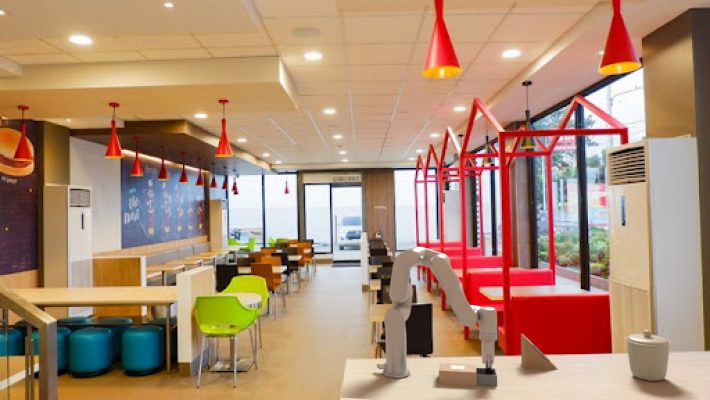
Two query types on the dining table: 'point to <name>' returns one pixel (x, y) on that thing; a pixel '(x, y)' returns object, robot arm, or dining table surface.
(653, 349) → the canister
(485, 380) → the tray
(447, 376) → the mailer sleeve
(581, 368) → the dining table surface
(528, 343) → the sandwich container
